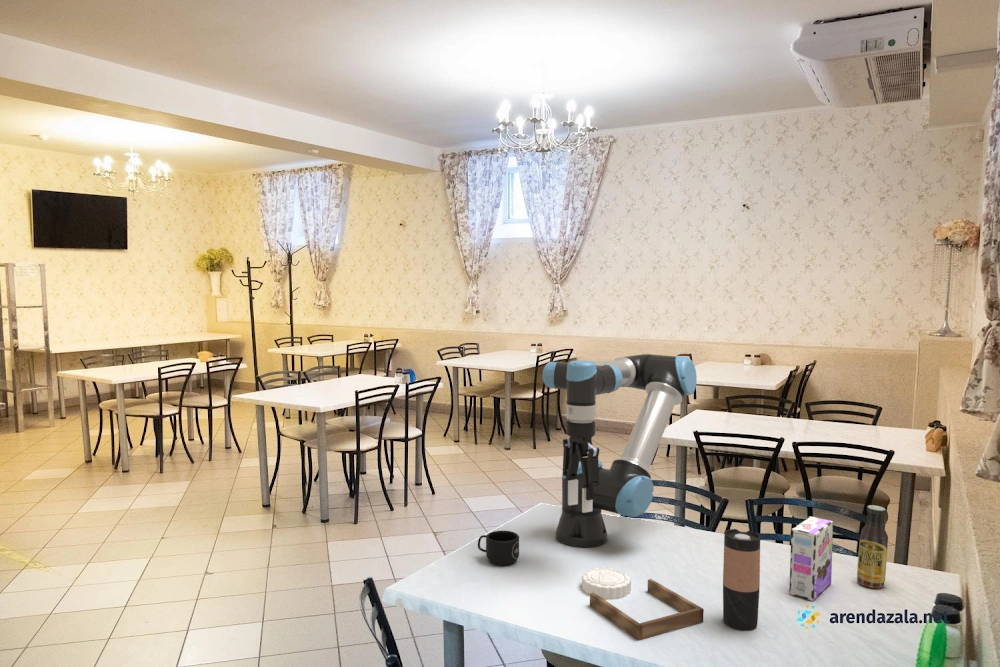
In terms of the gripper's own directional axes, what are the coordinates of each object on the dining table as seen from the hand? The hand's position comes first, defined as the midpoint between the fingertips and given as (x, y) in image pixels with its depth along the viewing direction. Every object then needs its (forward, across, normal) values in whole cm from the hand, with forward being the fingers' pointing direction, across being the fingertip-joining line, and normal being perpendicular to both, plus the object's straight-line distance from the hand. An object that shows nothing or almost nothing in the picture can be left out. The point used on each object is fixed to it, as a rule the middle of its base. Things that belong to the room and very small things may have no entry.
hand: (579, 507), depth 179 cm
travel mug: (+17, +40, +16) cm, 46 cm away
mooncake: (+17, +12, 0) cm, 21 cm away
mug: (+17, -16, -16) cm, 28 cm away
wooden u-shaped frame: (+17, +27, 0) cm, 32 cm away
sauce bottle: (+17, +40, +61) cm, 75 cm away
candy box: (+17, +35, +45) cm, 60 cm away
